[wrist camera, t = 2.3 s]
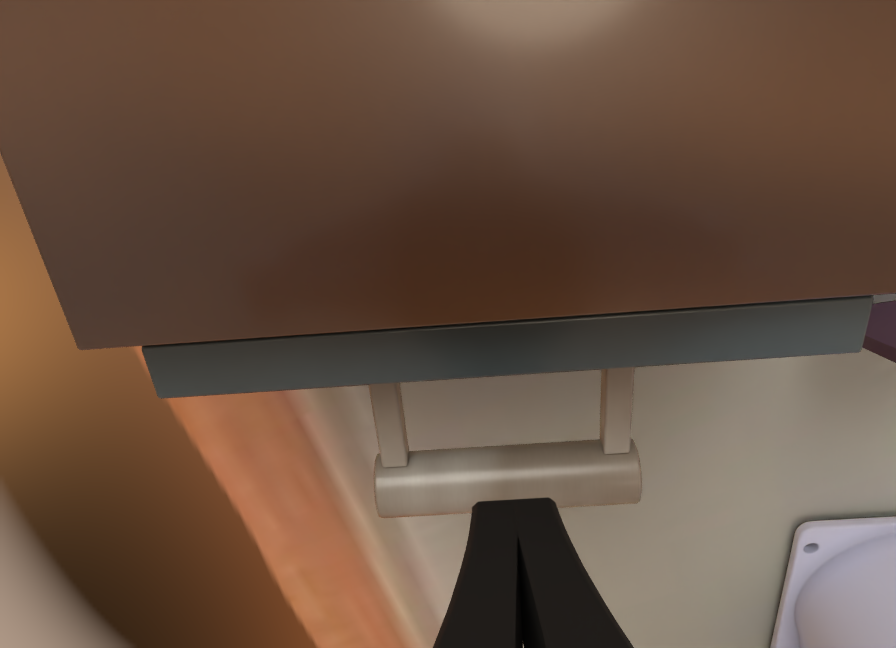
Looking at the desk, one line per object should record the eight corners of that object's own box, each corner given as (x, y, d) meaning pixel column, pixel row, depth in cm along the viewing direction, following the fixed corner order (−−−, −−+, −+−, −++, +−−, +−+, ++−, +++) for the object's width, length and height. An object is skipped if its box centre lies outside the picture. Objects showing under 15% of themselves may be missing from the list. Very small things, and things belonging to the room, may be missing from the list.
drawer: (714, 355, 22) (818, 538, 16) (281, 383, 23) (216, 571, 17) (816, -505, 13) (1156, -872, 7) (89, -420, 14) (-220, -687, 7)
